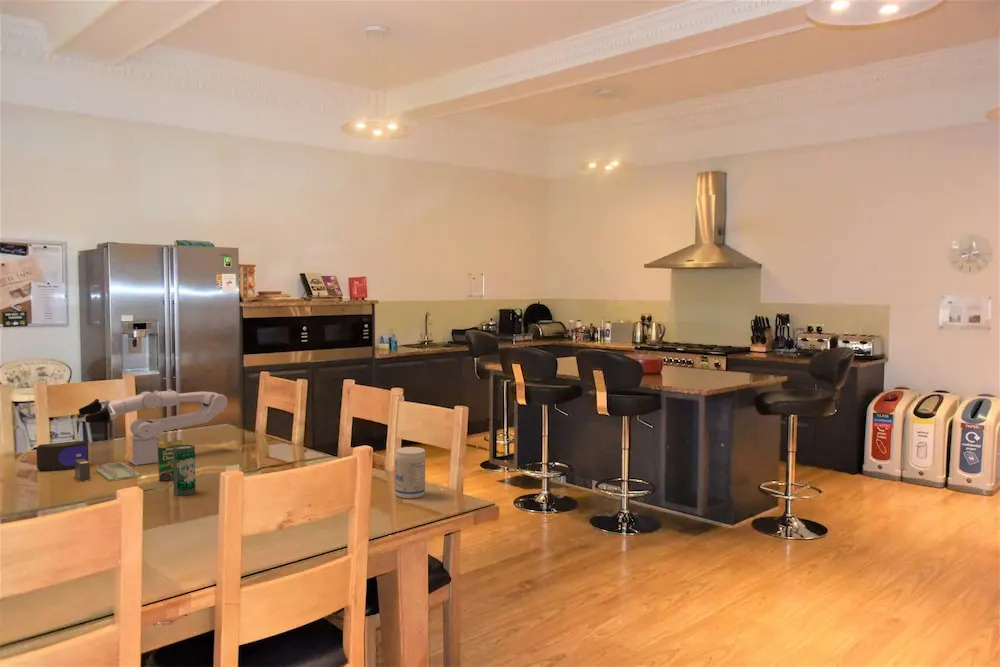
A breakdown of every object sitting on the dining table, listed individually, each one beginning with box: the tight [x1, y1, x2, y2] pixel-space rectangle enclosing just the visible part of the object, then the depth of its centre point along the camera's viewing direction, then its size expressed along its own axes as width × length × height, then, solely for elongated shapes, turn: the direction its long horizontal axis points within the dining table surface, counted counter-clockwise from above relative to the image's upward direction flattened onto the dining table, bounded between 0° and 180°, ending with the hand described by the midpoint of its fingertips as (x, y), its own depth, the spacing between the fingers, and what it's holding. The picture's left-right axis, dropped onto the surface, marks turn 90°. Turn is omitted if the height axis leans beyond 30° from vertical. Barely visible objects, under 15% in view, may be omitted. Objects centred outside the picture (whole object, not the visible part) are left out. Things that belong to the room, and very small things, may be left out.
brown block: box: [74, 459, 91, 482], centre depth 263 cm, size 3×8×6 cm, turn 40°
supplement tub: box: [394, 446, 426, 499], centre depth 246 cm, size 10×10×15 cm
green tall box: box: [173, 444, 197, 497], centre depth 246 cm, size 6×6×15 cm
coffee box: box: [157, 439, 183, 482], centre depth 262 cm, size 8×3×13 cm, turn 115°
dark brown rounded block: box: [35, 440, 90, 472], centre depth 275 cm, size 16×5×9 cm, turn 123°
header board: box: [95, 461, 142, 481], centre depth 269 cm, size 10×18×2 cm, turn 40°
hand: (82, 415), depth 272 cm, fingers open, 7 cm apart
